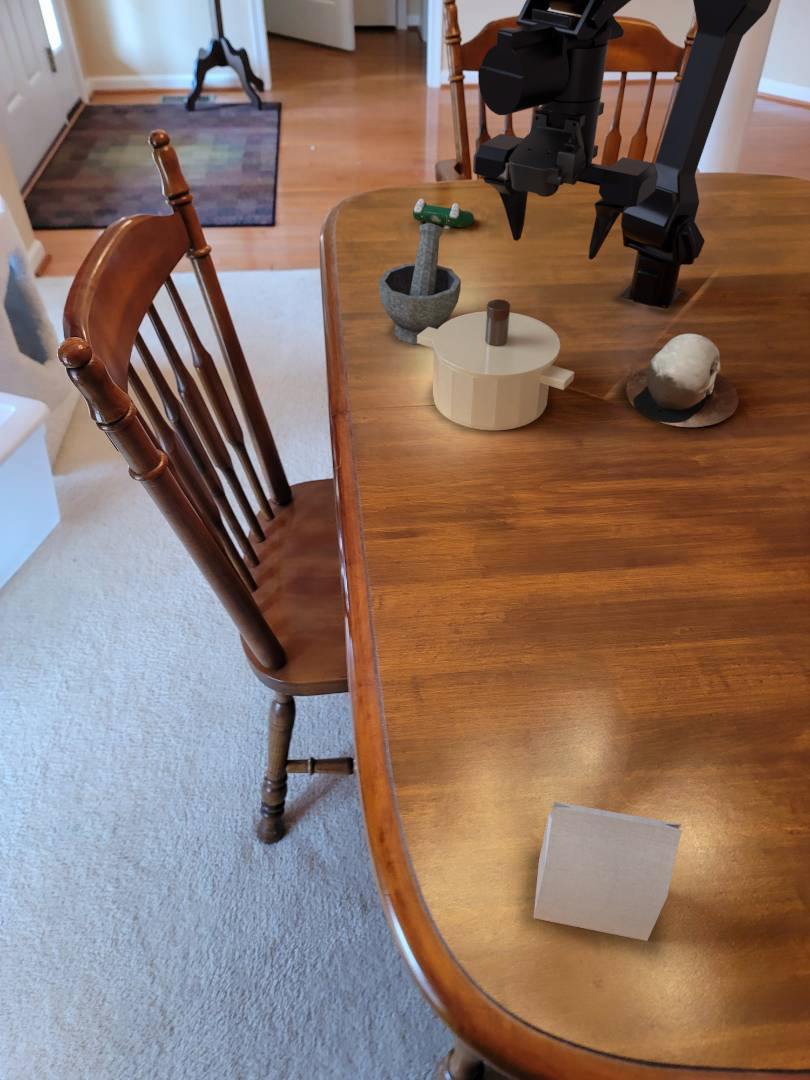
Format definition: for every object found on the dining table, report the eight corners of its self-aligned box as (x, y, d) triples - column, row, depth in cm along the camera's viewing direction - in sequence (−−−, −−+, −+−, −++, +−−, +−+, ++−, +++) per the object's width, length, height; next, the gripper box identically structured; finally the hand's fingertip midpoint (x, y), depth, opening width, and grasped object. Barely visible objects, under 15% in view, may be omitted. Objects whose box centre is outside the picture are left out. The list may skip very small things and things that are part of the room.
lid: (435, 318, 95) (436, 273, 92) (555, 321, 94) (561, 277, 91) (428, 381, 85) (429, 334, 82) (563, 386, 84) (569, 339, 81)
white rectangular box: (647, 940, 50) (683, 861, 43) (533, 918, 51) (551, 836, 44) (646, 881, 52) (680, 797, 46) (538, 861, 53) (556, 776, 47)
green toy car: (415, 232, 132) (404, 215, 126) (421, 209, 132) (411, 191, 126) (470, 240, 129) (462, 224, 124) (476, 217, 129) (468, 199, 124)
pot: (450, 351, 101) (452, 302, 97) (587, 396, 93) (596, 345, 89) (392, 400, 93) (390, 349, 89) (536, 452, 86) (542, 399, 81)
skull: (655, 346, 99) (726, 304, 91) (699, 420, 100) (773, 386, 91) (599, 383, 93) (669, 342, 84) (646, 462, 93) (720, 429, 85)
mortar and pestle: (446, 356, 100) (449, 260, 92) (372, 346, 102) (368, 251, 94) (467, 313, 108) (471, 221, 100) (398, 305, 110) (396, 213, 102)
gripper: (448, 100, 81) (444, 255, 92) (628, 132, 74) (602, 297, 84) (503, 74, 88) (494, 221, 99) (674, 101, 80) (644, 258, 91)
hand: (553, 248), depth 93 cm, fingers open, 9 cm apart
